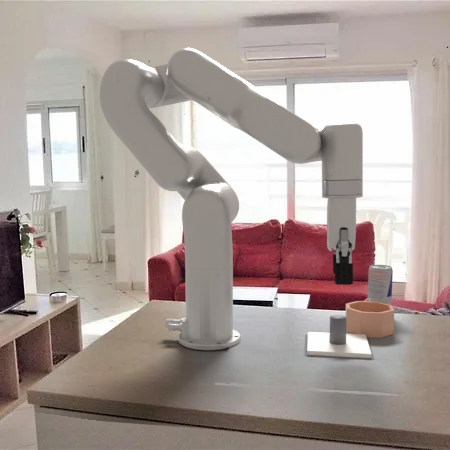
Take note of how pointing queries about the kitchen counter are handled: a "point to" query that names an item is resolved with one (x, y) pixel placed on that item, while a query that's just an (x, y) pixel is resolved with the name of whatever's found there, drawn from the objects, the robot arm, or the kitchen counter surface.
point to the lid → (338, 341)
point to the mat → (335, 356)
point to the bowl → (370, 318)
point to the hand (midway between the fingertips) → (342, 278)
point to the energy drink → (380, 284)
